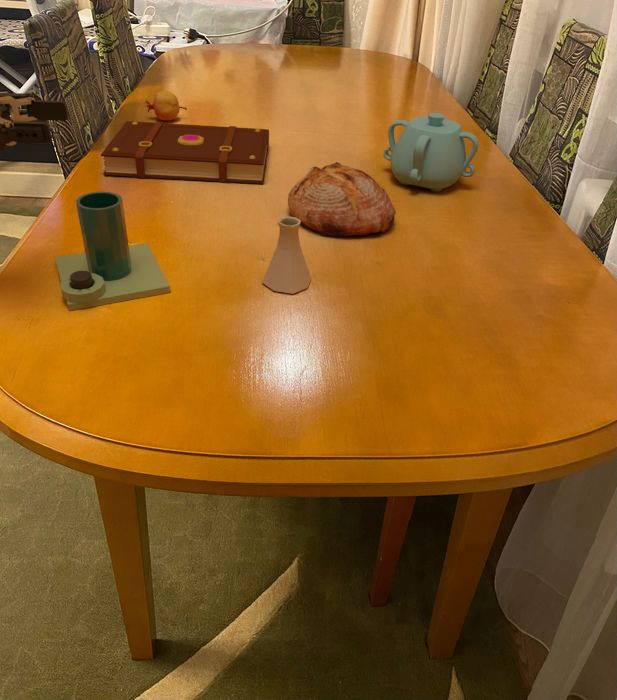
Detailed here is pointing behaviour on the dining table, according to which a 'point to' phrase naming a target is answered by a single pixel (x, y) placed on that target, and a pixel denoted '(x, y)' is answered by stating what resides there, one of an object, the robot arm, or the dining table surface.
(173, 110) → the fruit
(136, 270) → the scale
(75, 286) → the tare button
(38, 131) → the robot arm
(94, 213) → the cup
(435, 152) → the decorative pot
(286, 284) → the flask
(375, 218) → the bread
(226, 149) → the book
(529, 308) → the dining table surface
